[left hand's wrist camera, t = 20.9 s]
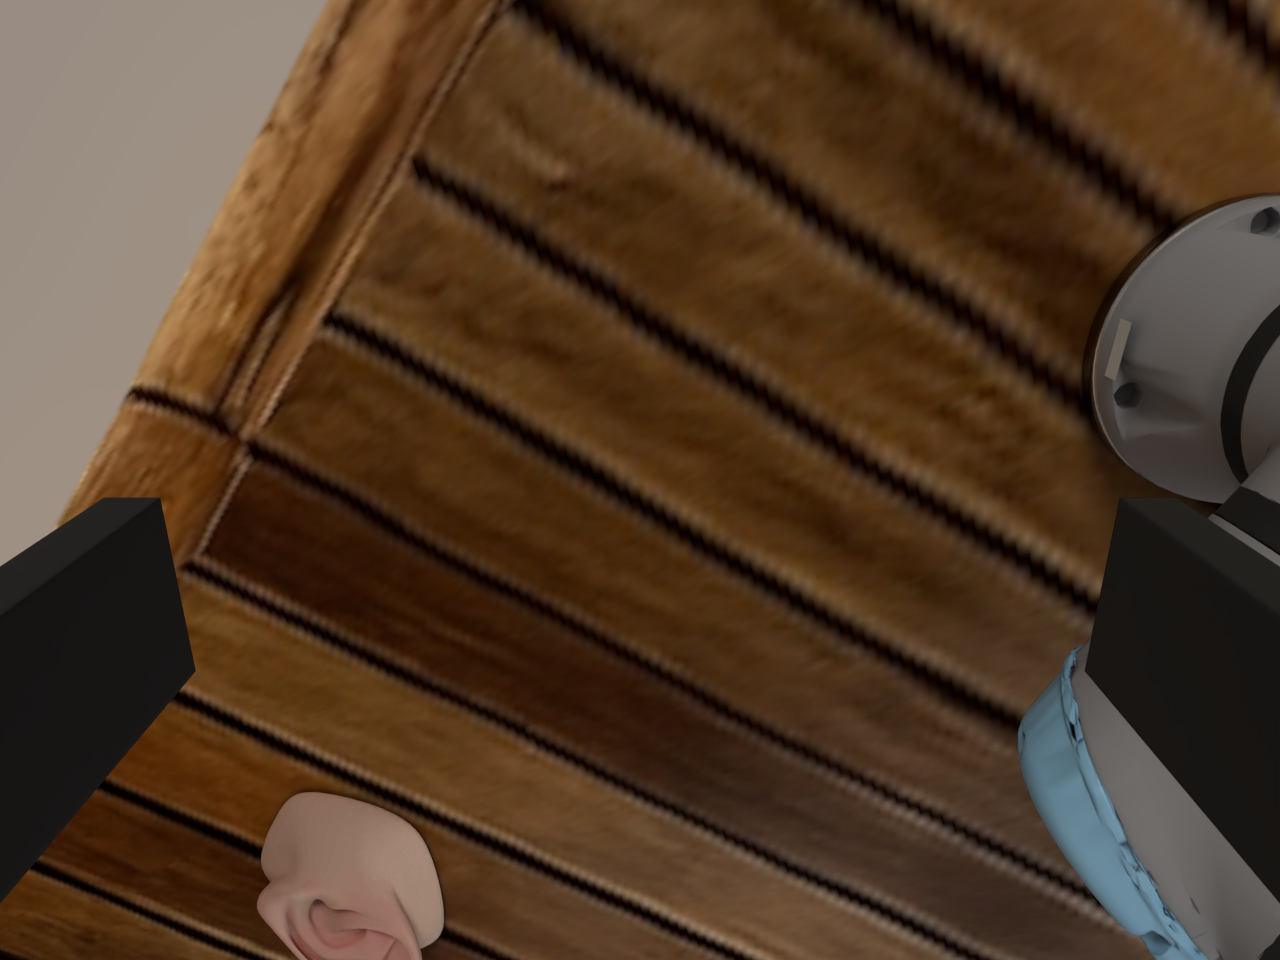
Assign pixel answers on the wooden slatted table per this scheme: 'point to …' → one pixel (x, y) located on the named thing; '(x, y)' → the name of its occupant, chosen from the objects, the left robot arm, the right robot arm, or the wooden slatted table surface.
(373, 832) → the anatomical model
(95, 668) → the left robot arm
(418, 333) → the wooden slatted table surface
